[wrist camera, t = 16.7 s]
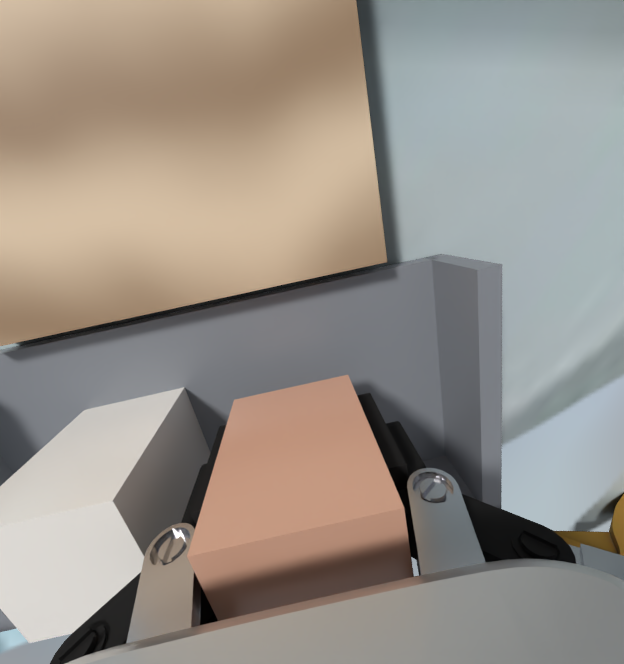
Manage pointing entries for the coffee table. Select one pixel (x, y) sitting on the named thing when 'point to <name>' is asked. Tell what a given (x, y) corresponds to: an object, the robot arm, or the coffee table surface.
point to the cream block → (94, 509)
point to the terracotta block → (298, 504)
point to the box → (293, 362)
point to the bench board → (177, 155)
